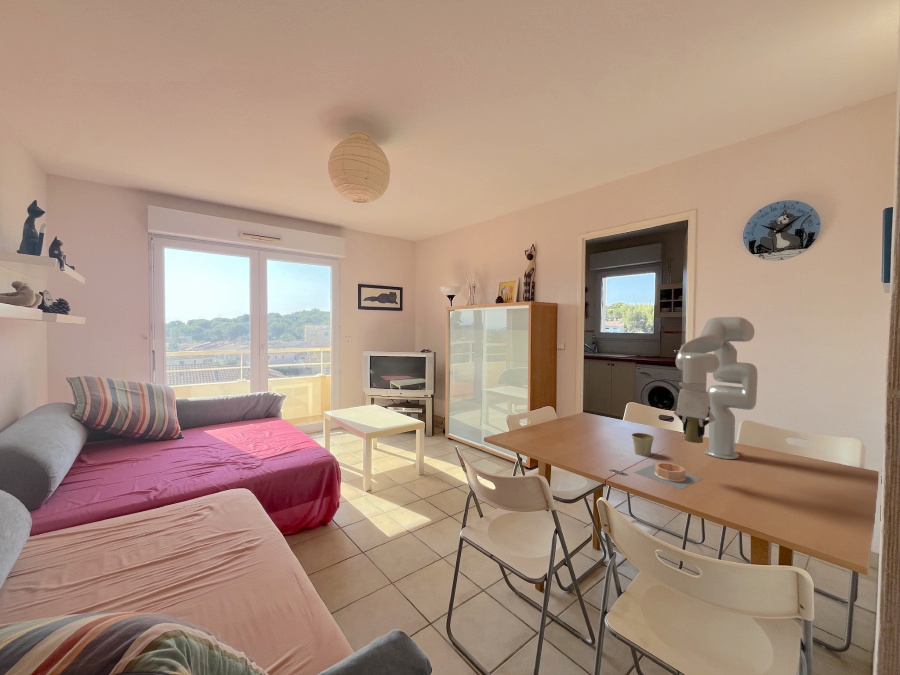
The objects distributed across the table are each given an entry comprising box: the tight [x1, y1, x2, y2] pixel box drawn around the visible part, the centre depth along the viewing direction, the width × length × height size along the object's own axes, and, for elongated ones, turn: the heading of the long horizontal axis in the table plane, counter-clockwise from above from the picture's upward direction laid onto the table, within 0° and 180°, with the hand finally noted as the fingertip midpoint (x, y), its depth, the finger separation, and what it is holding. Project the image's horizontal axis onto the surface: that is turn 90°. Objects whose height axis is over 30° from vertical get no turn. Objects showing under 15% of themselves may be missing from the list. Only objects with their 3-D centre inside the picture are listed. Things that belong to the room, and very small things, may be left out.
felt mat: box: [633, 463, 703, 490], centre depth 146 cm, size 16×18×1 cm
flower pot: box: [630, 432, 655, 457], centre depth 171 cm, size 9×9×9 cm
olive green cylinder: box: [683, 417, 704, 444], centre depth 142 cm, size 6×6×11 cm
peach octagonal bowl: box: [655, 462, 686, 482], centre depth 145 cm, size 10×10×4 cm
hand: (693, 434), depth 142 cm, fingers closed on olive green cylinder, 4 cm apart
